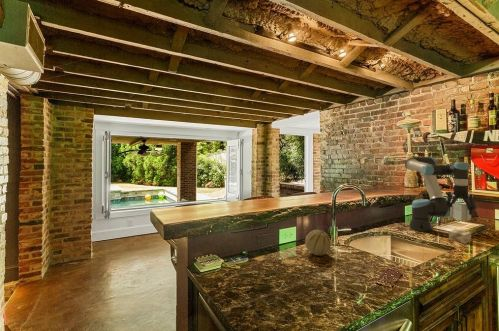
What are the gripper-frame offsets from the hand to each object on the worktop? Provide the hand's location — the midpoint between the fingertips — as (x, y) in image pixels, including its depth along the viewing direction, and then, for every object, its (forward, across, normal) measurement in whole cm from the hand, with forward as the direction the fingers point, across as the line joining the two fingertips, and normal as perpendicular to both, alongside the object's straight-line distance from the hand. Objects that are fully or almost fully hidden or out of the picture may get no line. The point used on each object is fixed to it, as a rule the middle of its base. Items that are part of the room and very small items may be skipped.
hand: (460, 217), depth 170 cm
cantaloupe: (+16, -20, -103) cm, 107 cm away
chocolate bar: (+17, +17, -91) cm, 94 cm away
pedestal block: (+16, 0, 0) cm, 16 cm away
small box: (+1, 0, 0) cm, 1 cm away
